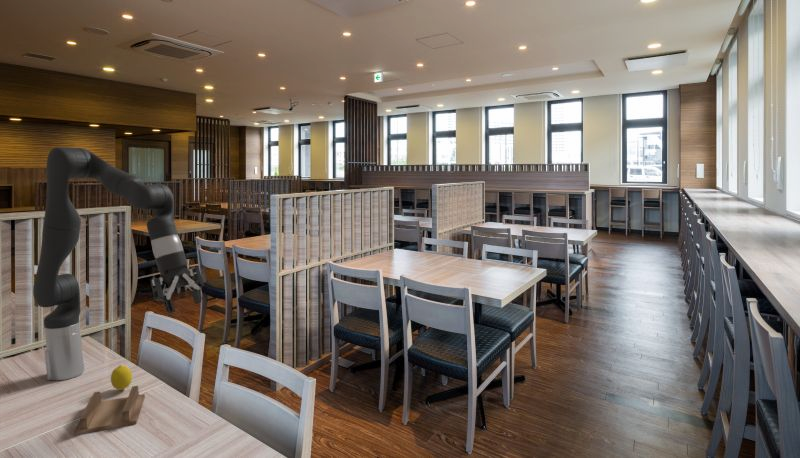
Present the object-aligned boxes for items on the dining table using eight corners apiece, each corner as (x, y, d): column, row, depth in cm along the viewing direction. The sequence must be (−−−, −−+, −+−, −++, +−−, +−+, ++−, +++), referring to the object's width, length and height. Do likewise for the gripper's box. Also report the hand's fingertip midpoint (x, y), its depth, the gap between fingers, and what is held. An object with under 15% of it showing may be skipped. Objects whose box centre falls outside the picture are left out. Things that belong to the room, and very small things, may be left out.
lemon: (137, 386, 142) (135, 361, 141) (124, 395, 137) (122, 369, 136) (120, 385, 143) (118, 361, 142) (107, 394, 138) (105, 369, 136)
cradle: (74, 435, 117) (72, 420, 116) (89, 406, 131) (88, 393, 130) (136, 423, 122) (135, 409, 121) (144, 397, 136) (143, 384, 135)
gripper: (183, 250, 137) (198, 302, 138) (137, 261, 125) (154, 318, 125) (198, 245, 133) (214, 298, 134) (153, 256, 121) (170, 314, 122)
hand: (185, 308), depth 130 cm, fingers open, 8 cm apart
